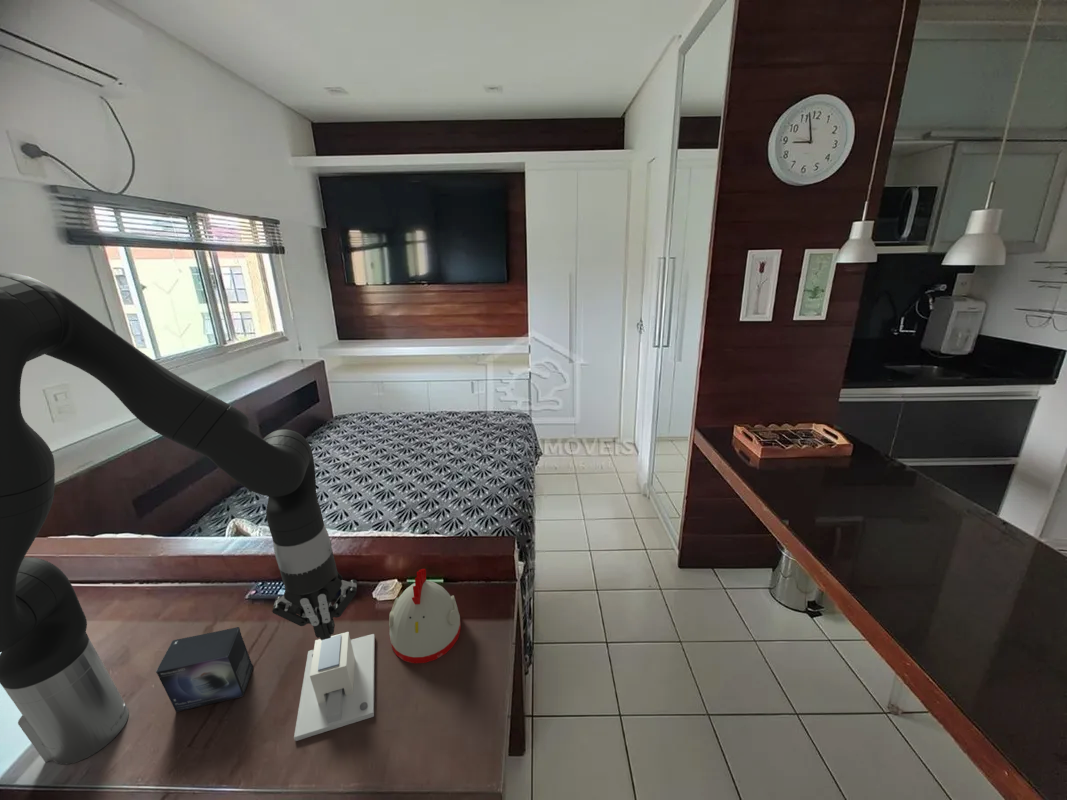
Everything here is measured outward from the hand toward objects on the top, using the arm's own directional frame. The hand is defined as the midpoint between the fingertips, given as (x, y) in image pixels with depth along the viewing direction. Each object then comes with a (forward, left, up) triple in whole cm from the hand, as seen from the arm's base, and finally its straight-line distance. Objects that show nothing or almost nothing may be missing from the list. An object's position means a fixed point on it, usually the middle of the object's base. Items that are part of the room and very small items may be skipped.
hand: (326, 634), depth 74 cm
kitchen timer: (+16, +6, -12) cm, 21 cm away
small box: (-21, +6, -12) cm, 25 cm away
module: (0, 0, -11) cm, 11 cm away
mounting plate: (0, 0, -12) cm, 12 cm away
